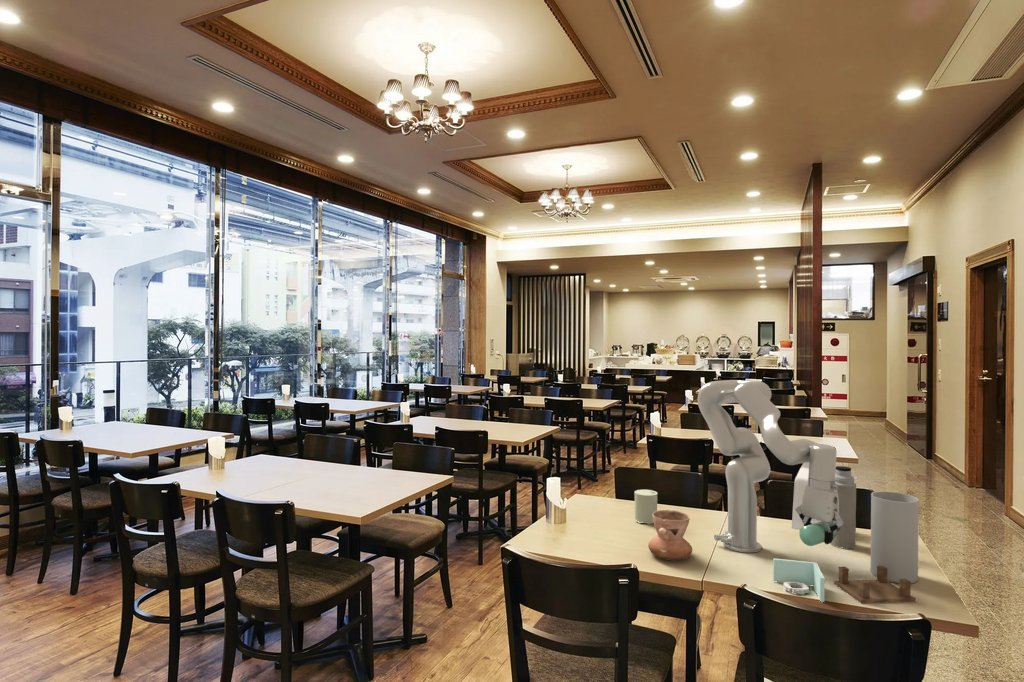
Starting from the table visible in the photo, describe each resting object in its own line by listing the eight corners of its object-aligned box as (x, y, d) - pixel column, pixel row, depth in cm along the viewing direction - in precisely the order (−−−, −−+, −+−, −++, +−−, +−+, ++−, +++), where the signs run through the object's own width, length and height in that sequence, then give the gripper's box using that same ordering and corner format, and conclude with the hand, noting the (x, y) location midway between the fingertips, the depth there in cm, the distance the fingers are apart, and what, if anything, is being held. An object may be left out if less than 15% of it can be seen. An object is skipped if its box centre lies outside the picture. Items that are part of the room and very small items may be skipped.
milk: (791, 528, 235) (792, 461, 235) (800, 521, 244) (800, 457, 243) (825, 534, 227) (826, 466, 227) (833, 527, 236) (833, 461, 235)
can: (659, 524, 239) (660, 494, 239) (636, 524, 239) (636, 494, 239) (654, 517, 248) (654, 488, 248) (632, 517, 249) (632, 488, 248)
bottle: (816, 548, 187) (818, 530, 186) (798, 541, 192) (800, 523, 191) (844, 539, 195) (846, 521, 195) (826, 532, 200) (827, 515, 200)
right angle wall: (773, 582, 185) (773, 558, 185) (816, 587, 181) (816, 562, 181) (778, 599, 174) (778, 573, 173) (824, 604, 170) (824, 578, 170)
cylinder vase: (874, 581, 185) (875, 499, 184) (867, 566, 196) (867, 489, 196) (922, 587, 180) (923, 504, 180) (911, 571, 192) (912, 493, 192)
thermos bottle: (851, 541, 219) (851, 465, 219) (859, 549, 212) (859, 470, 211) (827, 540, 221) (828, 464, 221) (834, 547, 213) (835, 469, 213)
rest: (861, 603, 170) (861, 583, 170) (833, 583, 183) (834, 565, 183) (915, 601, 171) (916, 582, 170) (884, 582, 184) (885, 564, 183)
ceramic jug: (682, 568, 194) (683, 524, 194) (639, 558, 202) (640, 516, 202) (700, 553, 209) (701, 512, 209) (659, 544, 217) (660, 505, 217)
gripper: (855, 489, 186) (851, 546, 187) (802, 475, 200) (798, 528, 201) (842, 493, 182) (838, 551, 183) (788, 478, 196) (785, 532, 197)
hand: (817, 539), depth 192 cm, fingers closed on bottle, 6 cm apart
